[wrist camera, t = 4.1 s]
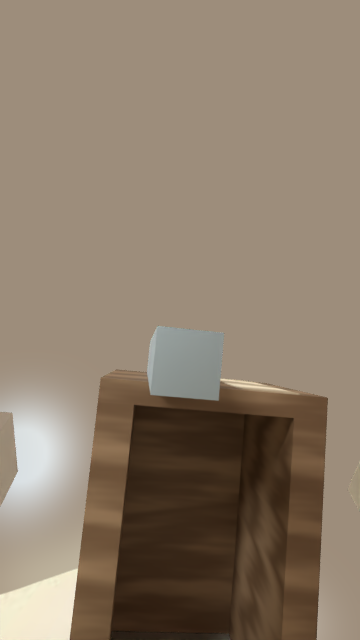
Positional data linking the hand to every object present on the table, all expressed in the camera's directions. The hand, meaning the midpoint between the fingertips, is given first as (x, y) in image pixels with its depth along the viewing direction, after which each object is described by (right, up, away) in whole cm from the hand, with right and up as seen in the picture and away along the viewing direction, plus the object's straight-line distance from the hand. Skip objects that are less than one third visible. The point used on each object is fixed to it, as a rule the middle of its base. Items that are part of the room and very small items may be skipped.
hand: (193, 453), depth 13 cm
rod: (-1, -1, +20) cm, 20 cm away
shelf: (-1, -31, +22) cm, 38 cm away
